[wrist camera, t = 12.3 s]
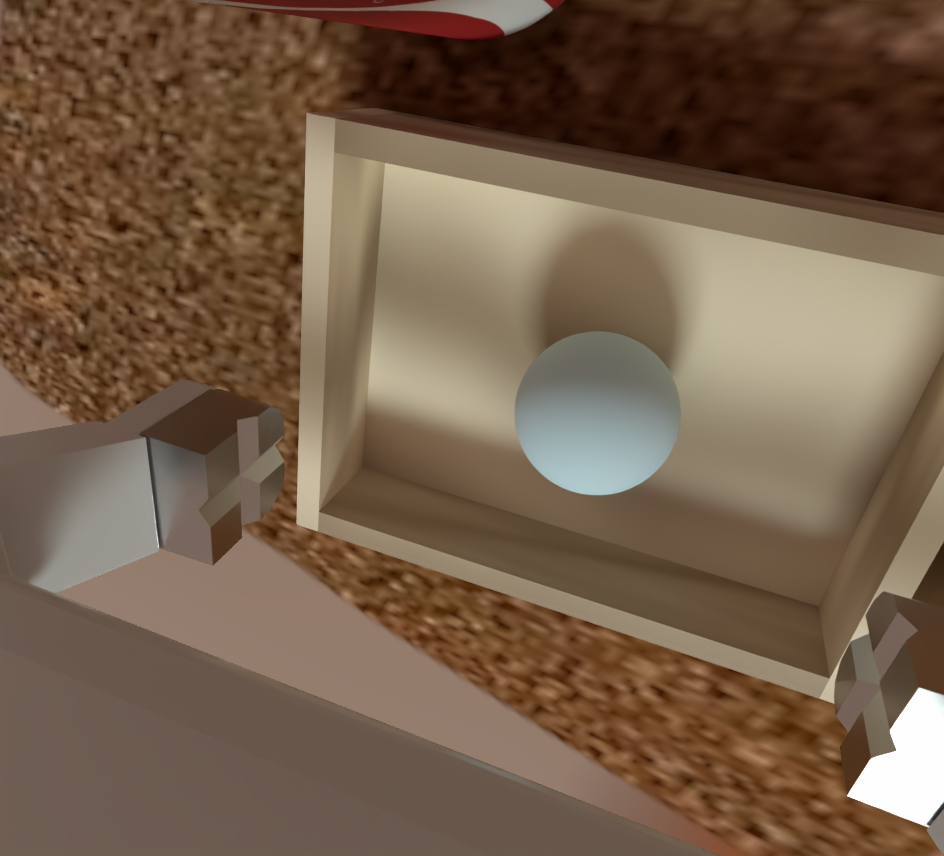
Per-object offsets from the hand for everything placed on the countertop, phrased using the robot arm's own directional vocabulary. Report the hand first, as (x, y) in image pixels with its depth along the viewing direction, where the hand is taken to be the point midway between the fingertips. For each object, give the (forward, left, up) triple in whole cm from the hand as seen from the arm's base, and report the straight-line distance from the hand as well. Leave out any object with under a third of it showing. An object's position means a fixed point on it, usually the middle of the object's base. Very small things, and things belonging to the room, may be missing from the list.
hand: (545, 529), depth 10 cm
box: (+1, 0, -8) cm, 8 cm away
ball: (+1, 0, -7) cm, 7 cm away
